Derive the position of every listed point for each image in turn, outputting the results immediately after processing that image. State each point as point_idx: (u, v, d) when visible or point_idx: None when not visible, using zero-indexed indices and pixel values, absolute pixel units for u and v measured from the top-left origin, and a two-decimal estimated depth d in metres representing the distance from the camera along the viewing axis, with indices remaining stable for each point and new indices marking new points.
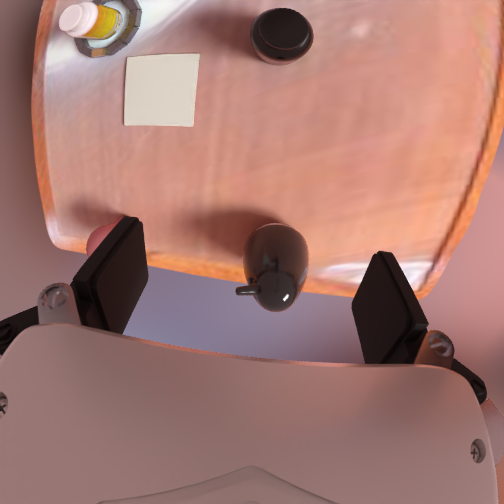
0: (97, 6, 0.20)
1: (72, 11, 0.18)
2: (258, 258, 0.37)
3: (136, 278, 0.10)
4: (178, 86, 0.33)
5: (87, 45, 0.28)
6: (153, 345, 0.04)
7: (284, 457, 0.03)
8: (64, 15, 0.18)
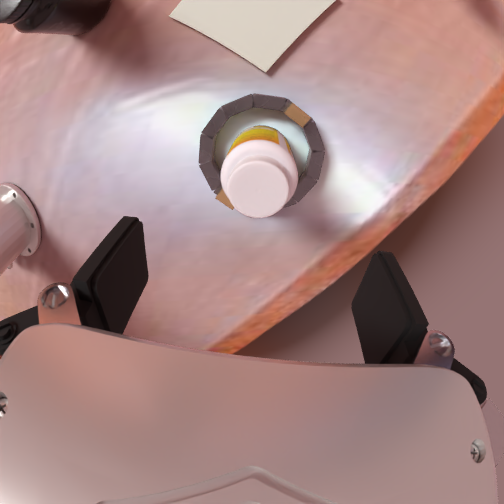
0: None
1: (245, 197, 0.18)
2: None
3: (136, 278, 0.10)
4: None
5: (309, 150, 0.25)
6: (153, 345, 0.04)
7: (284, 457, 0.03)
8: (264, 206, 0.18)
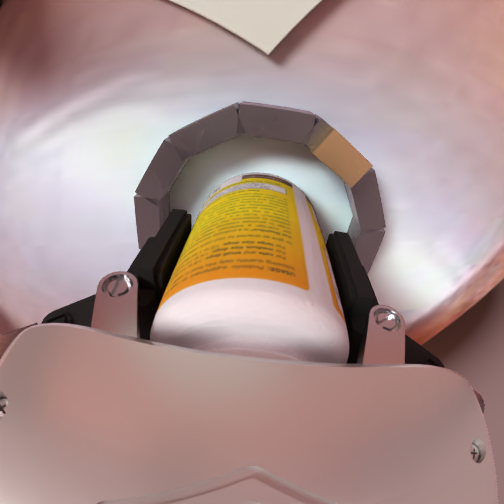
0: None
1: None
2: None
3: None
4: None
5: (354, 223, 0.13)
6: (153, 345, 0.04)
7: (284, 457, 0.03)
8: None
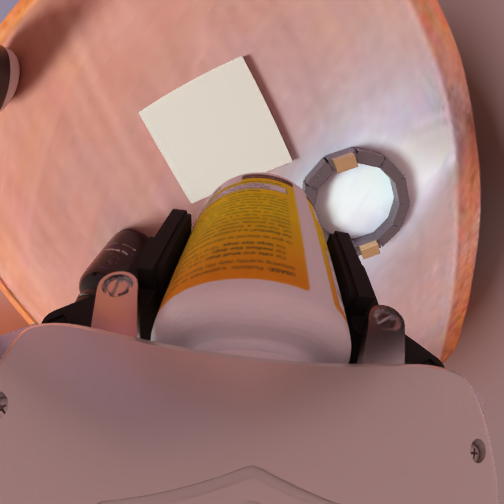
0: None
1: None
2: None
3: None
4: (187, 151, 0.25)
5: None
6: (153, 345, 0.04)
7: (284, 457, 0.03)
8: None
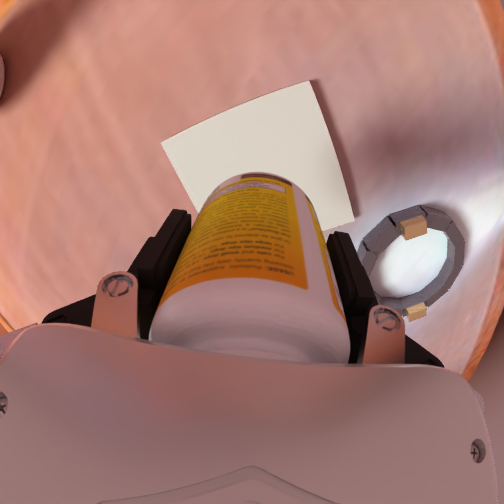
0: None
1: None
2: None
3: None
4: None
5: None
6: (153, 345, 0.04)
7: (284, 457, 0.03)
8: None
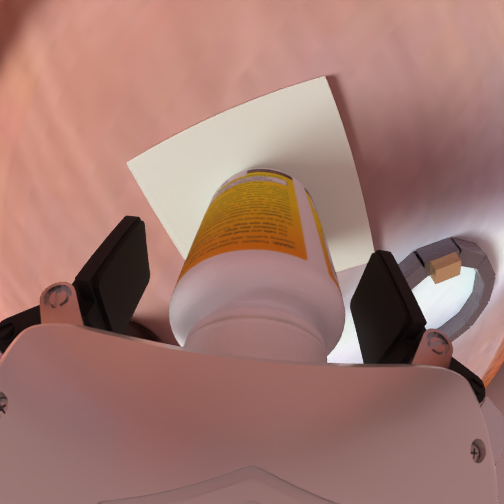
0: None
1: None
2: None
3: (138, 277, 0.10)
4: None
5: None
6: (153, 345, 0.04)
7: (284, 457, 0.03)
8: None
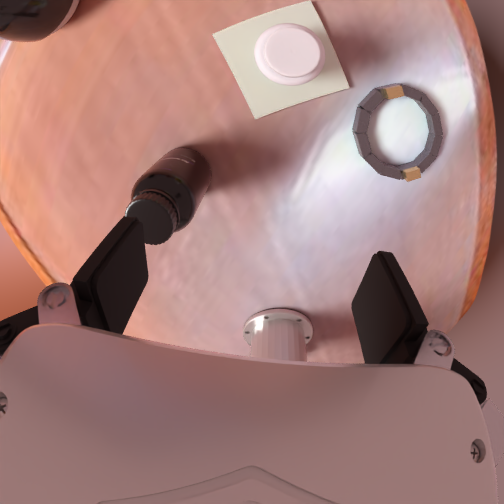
0: None
1: (281, 56, 0.15)
2: (32, 0, 0.10)
3: (136, 278, 0.10)
4: (257, 70, 0.24)
5: (416, 101, 0.24)
6: (153, 345, 0.04)
7: (284, 457, 0.03)
8: (299, 65, 0.16)
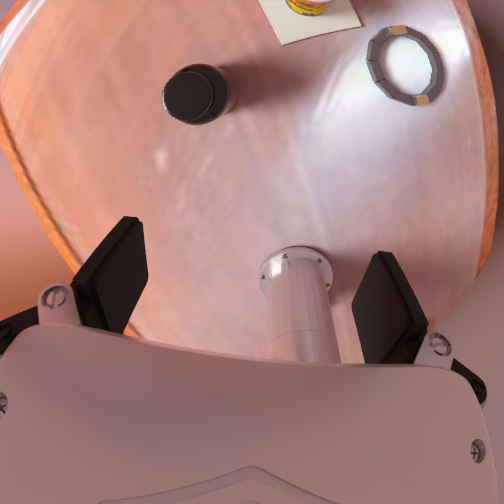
0: None
1: None
2: None
3: (136, 278, 0.10)
4: (284, 7, 0.24)
5: (418, 41, 0.23)
6: (153, 345, 0.04)
7: (284, 457, 0.03)
8: None
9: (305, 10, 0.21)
